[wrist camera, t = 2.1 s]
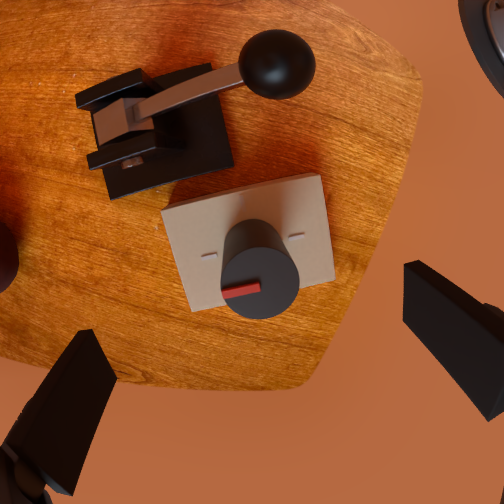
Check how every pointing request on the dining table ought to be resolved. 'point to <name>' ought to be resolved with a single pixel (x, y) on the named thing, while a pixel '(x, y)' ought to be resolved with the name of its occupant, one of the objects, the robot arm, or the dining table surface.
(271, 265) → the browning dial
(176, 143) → the lever bracket
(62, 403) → the robot arm
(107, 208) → the dining table surface
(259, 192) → the dial panel
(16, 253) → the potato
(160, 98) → the ball knob lever
